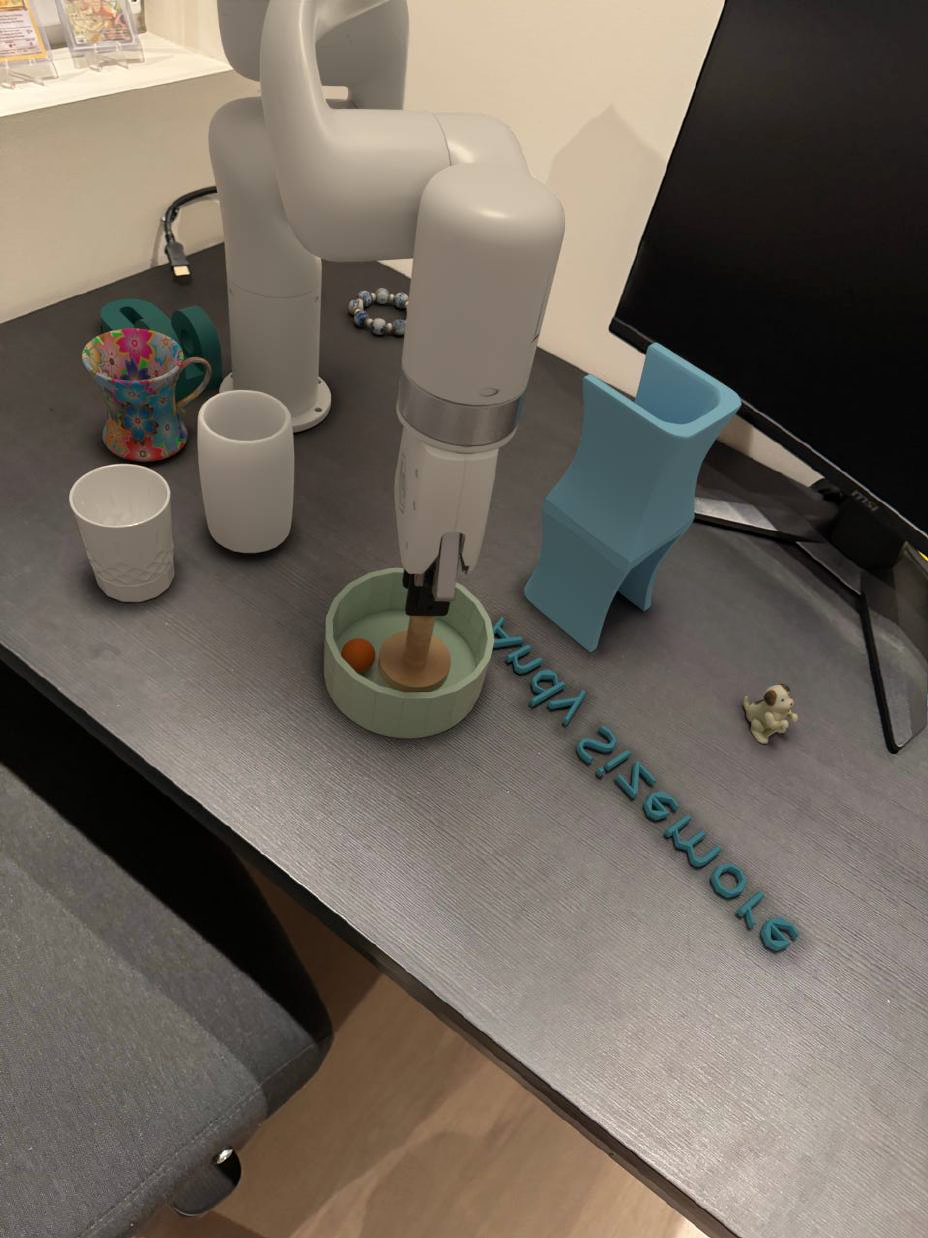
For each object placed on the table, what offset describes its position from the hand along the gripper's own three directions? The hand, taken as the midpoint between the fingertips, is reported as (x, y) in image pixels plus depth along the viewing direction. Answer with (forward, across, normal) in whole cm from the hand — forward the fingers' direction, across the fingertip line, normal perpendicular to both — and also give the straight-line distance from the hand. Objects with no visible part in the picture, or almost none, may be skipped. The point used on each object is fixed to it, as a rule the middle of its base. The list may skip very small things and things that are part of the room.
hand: (424, 598), depth 64 cm
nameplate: (+13, +8, +18) cm, 23 cm away
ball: (+11, -3, -4) cm, 12 cm away
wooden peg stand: (+9, 0, 0) cm, 9 cm away
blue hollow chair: (+13, -12, +19) cm, 26 cm away
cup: (+13, -20, -14) cm, 28 cm away
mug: (+13, -34, -24) cm, 43 cm away
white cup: (+13, -14, -24) cm, 31 cm away
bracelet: (+13, -62, +2) cm, 63 cm away
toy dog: (+13, +3, +33) cm, 36 cm away
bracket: (+13, -50, -26) cm, 58 cm away
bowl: (+13, -3, 0) cm, 13 cm away
